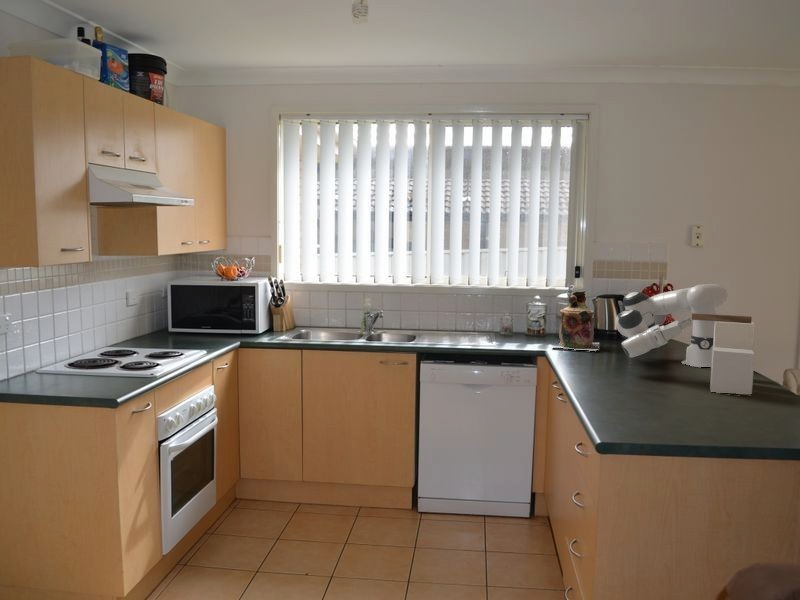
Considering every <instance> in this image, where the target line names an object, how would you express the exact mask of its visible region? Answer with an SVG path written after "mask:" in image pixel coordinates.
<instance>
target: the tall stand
mask: <svg viewBox="0 0 800 600" xmlns="http://www.w3.org/2000/svg"><path fill="white" fill-rule="evenodd" d="M755 329H756V324H755V323H754V322H753V321H751V323H737V322H721V321H715V326H714V341H713V347H719V348H732V349H745V350H752V351H753V352H754V345H755V344H754V343H755V332H756V331H755Z"/></svg>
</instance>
